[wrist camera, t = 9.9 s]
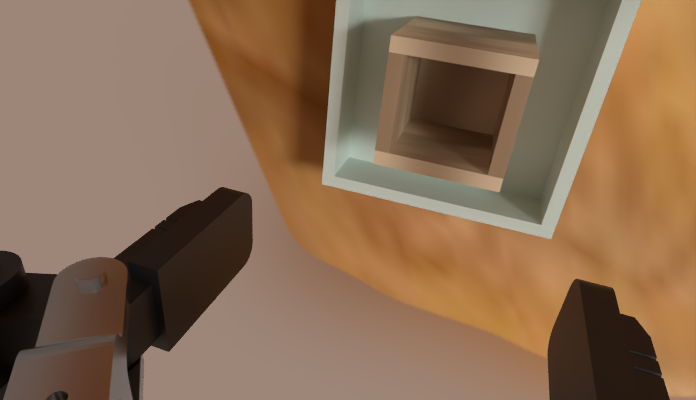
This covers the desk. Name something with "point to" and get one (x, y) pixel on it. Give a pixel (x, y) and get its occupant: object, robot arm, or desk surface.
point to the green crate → (537, 120)
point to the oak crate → (454, 100)
